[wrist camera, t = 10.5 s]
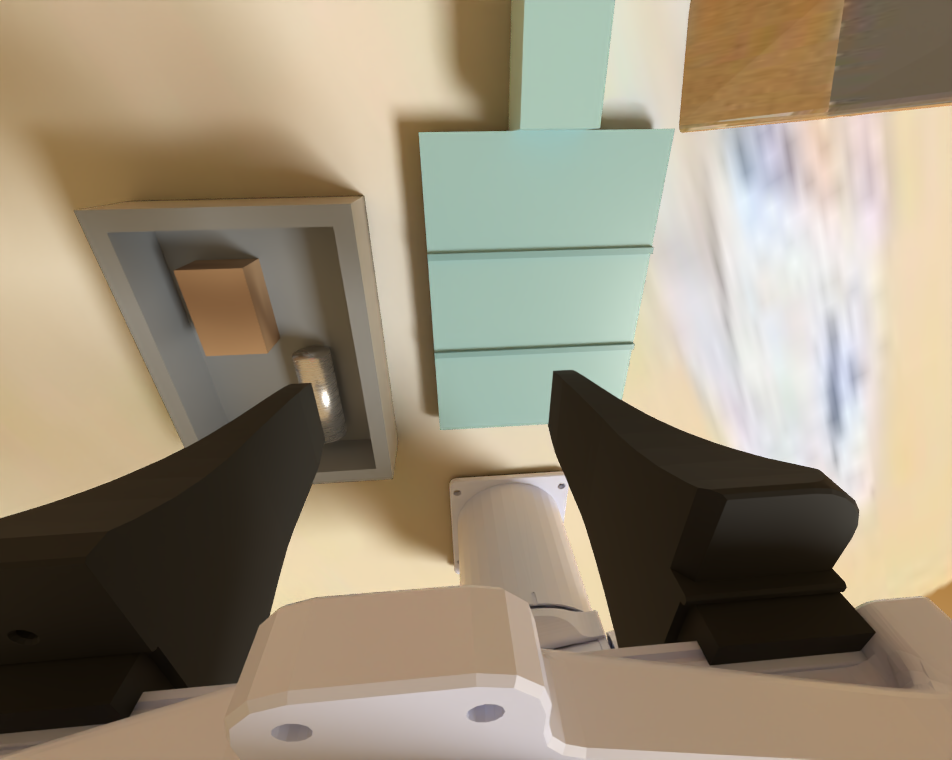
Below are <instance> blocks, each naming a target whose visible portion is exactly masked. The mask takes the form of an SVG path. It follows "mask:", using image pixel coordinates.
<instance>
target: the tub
mask: <svg viewBox="0 0 952 760" xmlns="http://www.w3.org/2000/svg"><path fill="white" fill-rule="evenodd" d="M74 212H75V215H76V217H77V219H78V221H79V223H80V225H81V227H82V229H83V232H84V234H85V236H86V238H87V240H88V242H89V244H90V247H91V249H92V251H93V253H94V255H95V257H96V259H97V262H98V264H99V266H100V268H101V270H102V272H103V274H104V277H105V279H106V281H107V283H108V285H109V287H110V289H111V291H112V294H113V296H114V298H115V300H116V302H117V304H118V306H119V309H120V311H121V313H122V315H123V317H124V319H125V321H126V324H127V326H128V328H129V330H130V332H131V334H132V336H133V339H134V341H135V343H136V345H137V347H138V349H139V351H140V353H141V356H142V358H143V360H144V362H145V364H146V366H147V368H148V371H149V373H150V375H151V377H152V379H153V381H154V383H155V386H156V388H157V390H158V392H159V394H160V396H161V398H162V401H163V403H164V405H165V407H166V409H167V411H168V413H169V415H170V418H171V420H172V422H173V424H174V426H175V428H176V430H177V433H178V435H179V437H180V439H181V441H182V443H183V445H184V448H186V447H188V446H190V445H191V444H193V443H195V442H197V441H199V440H201V439H202V438H204V437H206V436H208V435H209V434H211V433H212V432H214V431H216V430H217V429H219V428H221V427H222V426H224V425H226V424H227V423H229V422H231V421H232V420H234V419H235V418H237V417H239V416H240V415H242V414H243V413H245V412H246V411H248V410H249V409H251V408H252V407H254V406H255V405H257V404H258V403H260V402H261V401H263V400H264V399H266V398H267V397H269V396H270V395H272V394H273V393H275V392H277V391H278V390H280V389H281V388H283V387H285V386H287V385H289V384H297V383H299V381H298V378H297V374H296V370H295V366H294V362H293V359H292V354H293V353H294V352H295V351H297V350H299V349H301V348H304V347H308V346H326V347H328V348H329V349H330V353H331V357H332V362H333V367H334V371H335V376H336V381H337V386H338V390H339V395H340V400H341V405H342V409H343V414H344V419H345V423H346V428H347V433H346V435H345V436H344V437H343V438H342V439H340V440H338V441H336V442H333V443H327V444H324V447H323V451H322V456H321V460H320V464H319V468H318V470H317V473H316V476H315V478H314V481H313V483H312V484H322V483H338V482H353V481H369V480H385V479H393V475H394V468H395V461H396V454H397V447H398V438H397V431H396V424H395V416H394V409H393V402H392V394H391V387H390V380H389V373H388V365H387V358H386V351H385V343H384V336H383V329H382V321H381V314H380V307H379V300H378V292H377V285H376V278H375V270H374V263H373V256H372V249H371V241H370V234H369V227H368V219H367V212H366V205H365V197H364V196H327V197H283V198H239V199H195V200H151V201H128V202H122V203H116V204H109V205H103V206H97V207H91V208H85V209H79V210H74ZM257 258H259V261H260V265H261V269H262V272H263V276H264V280H265V283H266V287H267V291H268V294H269V298H270V302H271V305H272V309H273V313H274V316H275V320H276V324H277V327H278V331H279V334H280V339H279V341H278V342H277V343H276V344H275V345H274V346H273V348H272V349H271V350H270V351H269V352H268V353H267V354H245V355H223V356H206V355H205V352H204V350H203V347H202V344H201V342H200V339H199V337H198V334H197V331H196V329H195V326H194V323H193V321H192V318H191V316H190V313H189V310H188V308H187V305H186V302H185V300H184V297H183V295H182V292H181V289H180V287H179V284H178V281H177V279H176V276H175V274H174V271H173V270H176V269H178V268H180V267H182V266H184V265H187V264H189V263H191V262H193V261H196V260H225V259H257Z"/></svg>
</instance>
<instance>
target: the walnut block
mask: <svg viewBox="0 0 952 760" xmlns="http://www.w3.org/2000/svg"><path fill="white" fill-rule="evenodd" d="M173 271H174V274H175V276H176V279H177V281H178V284H179V287H180V289H181V292H182V295H183V297H184V300H185V302H186V305H187V308H188V310H189V313H190V316H191V318H192V321H193V323H194V326H195V329H196V331H197V334H198V337H199V339H200V342H201V344H202V347H203V350H204V352H205V355H206V356H223V355H245V354H267V353H268V352H269V351H270V350H271V349H272V348H273V346H274V345H275V344H276V343H277V342H278V341H279V339H280V334H279V331H278V327H277V324H276V320H275V316H274V313H273V309H272V305H271V302H270V298H269V294H268V291H267V287H266V283H265V280H264V276H263V272H262V269H261V265H260V261H259V258H257V259H225V260H196V261H193V262H191V263H189V264H187V265H184V266H182V267H180V268H178V269H176V270H173Z"/></svg>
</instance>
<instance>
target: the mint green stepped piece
mask: <svg viewBox="0 0 952 760" xmlns="http://www.w3.org/2000/svg"><path fill="white" fill-rule="evenodd" d="M614 5H615V0H511V37H510V83H509V129H508V131H475V132H419V144H420V158H421V172H422V186H423V200H424V214H425V228H426V242H427V258H428V269H429V283H430V297H431V311H432V325H433V339H434V355H435V367H436V381H437V395H438V408H439V422H440V430H451V429H468V428H486V427H504V426H521V425H539V424H548V422H549V411H550V399H551V388H552V377H553V371H558V370H574V371H576V372H578V373H580V374H581V375H583V376H585V377H586V378H588V379H589V380H591V381H592V382H594V383H595V384H597V385H598V386H600V387H601V388H603V389H605V390H606V391H608V392H609V393H611V394H612V395H614V396H616V397H617V398H619V399H621V400H622V397H623V391H624V386H625V381H626V376H627V371H628V366H629V361H630V356H631V351H632V350H633V349H634V345H635V344H634V343H633V340H634V335H635V330H636V325H637V320H638V315H639V310H640V304H641V299H642V294H643V289H644V284H645V279H646V274H647V269H648V264H649V258H650V254H653V249H654V247H652V243H653V238H654V233H655V228H656V223H657V217H658V212H659V207H660V202H661V197H662V192H663V187H664V182H665V177H666V171H667V166H668V161H669V156H670V151H671V146H672V141H673V136H674V130H675V129H620V130H589V129H597V128H600V125H601V116H602V108H603V99H604V91H605V82H606V74H607V65H608V56H609V48H610V39H611V31H612V22H613V14H614Z"/></svg>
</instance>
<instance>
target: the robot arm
mask: <svg viewBox="0 0 952 760" xmlns="http://www.w3.org/2000/svg"><path fill="white" fill-rule="evenodd" d="M548 427H549V431H550V435H551V439H552V443H553V447H554V450H555V454H556V456H557V458H558V461H559V463H560V466H561V468H562V470H563V471H559V472H544V473H529V474H513V475H498V476H482V477H467V478H455V479H452V480H451V481H450V483H449V490H450V506H451V522H452V538H453V554H454V569H455V572H456V573H457V574H460V586H448V587H436V588H424V589H411V590H399V591H387V592H374V593H362V594H349V595H337V596H325V597H315V598H311V599H307V600H304V601H300V602H296V603H292V604H288V605H285V606H283V607H281V608H279V609H278V610H277V611H275V612H274V613H273V614H272V615H271V616H270V612H271V608H272V604H273V600H274V596H275V592H276V588H277V584H278V580H279V576H280V573H281V569H282V565H283V562H284V558H285V555H286V551H287V547H288V544H289V542H290V539H291V536H292V533H293V530H294V528H295V525H296V523H297V521H298V518H299V516H300V513H301V511H302V508H303V506H304V503H305V501H306V498H307V496H308V493H309V491H310V488H311V486H312V483H313V481H314V478H315V476H316V473H317V470H318V468H319V464H320V460H321V456H322V451H323V447H324V442H325V436H324V432H323V428H322V424H321V420H320V416H319V412H318V408H317V404H316V399H315V395H314V391H313V387H312V383H297V384H289V385H287V386H285V387H283V388H281V389H280V390H278V391H277V392H275V393H273V394H272V395H270V396H269V397H267V398H266V399H264V400H263V401H261V402H260V403H258V404H257V405H255V406H254V407H252V408H251V409H249V410H248V411H246V412H245V413H243V414H242V415H240V416H239V417H237V418H235V419H234V420H232V421H231V422H229V423H227V424H226V425H224V426H222V427H221V428H219V429H217V430H216V431H214V432H212V433H211V434H209V435H208V436H206V437H204V438H202V439H201V440H199V441H197V442H195V443H193V444H191V445H190V446H188V447H186V448H184V449H182V450H180V451H178V452H176V453H174V454H172V455H170V456H168V457H166V458H164V459H162V460H160V461H158V462H155V463H153V464H151V465H148V466H146V467H144V468H141V469H139V470H137V471H134V472H132V473H130V474H127V475H125V476H123V477H120V478H118V479H116V480H113V481H111V482H108V483H106V484H103V485H100V486H98V487H95V488H92V489H90V490H87V491H84V492H81V493H78V494H76V495H73V496H70V497H67V498H64V499H61V500H58V501H55V502H52V503H49V504H46V505H43V506H40V507H37V508H33V509H30V510H27V511H23V512H20V513H17V514H14V515H10V516H7V517H4V518H0V760H952V619H951V618H950V617H948V616H947V615H946V614H945V613H944V612H943V611H942V610H940V609H939V607H937V606H936V605H935V604H934V603H933V602H932V601H931V600H930V599H929V598H927V597H922V596H918V597H906V598H895V599H884V600H874V601H870V602H866V603H863V604H861V605H859V606H857V607H856V608H854V607H853V606H852V605H851V604H850V603H849V602H848V601H847V600H846V599H845V597H844V596H843V595H842V594H841V593H840V592H844V591H845V589H846V588H847V587H846V584H845V582H844V581H843V580H842V578H841V577H840V576H839V575H838V574H837V573H836V572H835V571H834V570H833V569H832V568H833V566H834V565H835V563H836V562H837V560H838V558H839V557H840V555H841V554H842V552H843V551H844V549H845V548H846V546H847V545H848V543H849V542H850V540H851V539H852V537H853V535H854V533H855V530H856V528H857V526H858V518H859V509H858V507H857V504H856V502H855V500H854V499H853V498H851V497H850V496H849V495H848V494H847V493H846V492H844V491H843V490H842V489H841V488H840V487H839V486H838V485H836V484H835V483H834V482H833V481H832V480H831V479H829V478H828V477H827V476H826V475H825V474H824V473H822V472H821V471H820V470H818V469H814V468H810V467H805V466H801V465H796V464H791V463H787V462H782V461H778V460H773V459H768V458H764V457H761V456H757V455H753V454H750V453H746V452H743V451H739V450H736V449H732V448H729V447H726V446H723V445H720V444H717V443H714V442H711V441H708V440H705V439H703V438H700V437H697V436H694V435H692V434H689V433H687V432H684V431H682V430H679V429H677V428H675V427H672V426H670V425H668V424H666V423H664V422H661V421H659V420H657V419H655V418H653V417H651V416H649V415H647V414H645V413H643V412H642V411H640V410H638V409H636V408H634V407H633V406H631V405H629V404H627V403H626V402H624V401H622V400H621V399H619V398H617V397H616V396H614V395H612V394H611V393H609V392H608V391H606V390H605V389H603V388H601V387H600V386H598V385H597V384H595V383H594V382H592V381H591V380H589V379H588V378H586V377H585V376H583V375H581V374H580V373H578V372H576V371H574V370H558V371H553V377H552V388H551V399H550V411H549V422H548ZM561 483H563V484H561ZM559 484H561V485H559ZM568 486H569V487H570V489H571V492H572V494H573V496H574V499H575V501H576V503H577V506H578V508H579V510H580V513H581V515H582V518H583V521H584V524H585V526H586V530H587V533H588V536H589V540H590V543H591V546H592V550H593V553H594V556H595V560H596V563H597V567H598V571H599V574H600V578H601V581H602V585H603V589H604V592H605V596H606V600H607V604H608V608H609V612H610V616H611V620H612V624H613V628H614V630H612V631H610V632H607V633H606V634H607V639H606V636H605V633H604V630H603V627H602V624H601V621H600V618H599V615H598V612H597V611H595V610H593V611H592V608H591V605H590V602H589V599H588V596H587V593H586V590H585V587H584V584H583V581H582V578H581V575H580V572H579V569H578V566H577V563H576V560H575V557H574V554H573V551H572V548H571V545H570V542H569V539H568V536H567V533H566V530H565V527H564V516H565V509H566V501H567V494H568ZM456 490H459V491H458V492H455V491H456ZM269 616H270V617H269Z"/></svg>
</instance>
